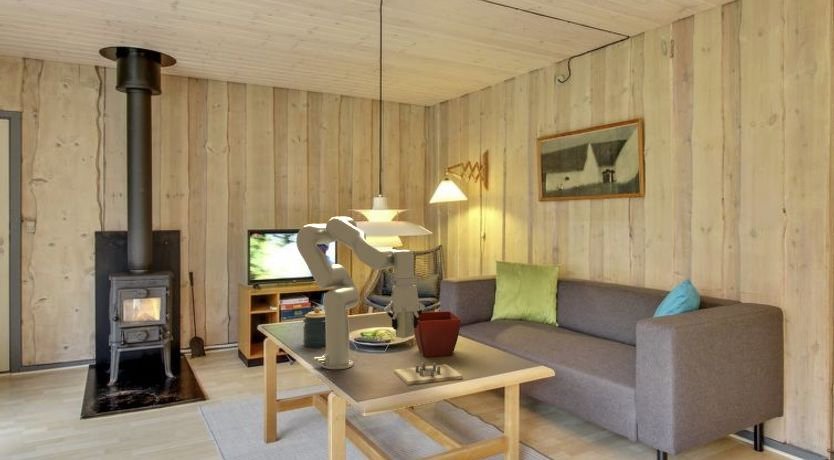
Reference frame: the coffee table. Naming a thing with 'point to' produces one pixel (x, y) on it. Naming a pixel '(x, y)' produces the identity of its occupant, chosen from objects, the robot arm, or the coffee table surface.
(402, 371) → the pin tray
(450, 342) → the plant pot
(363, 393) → the coffee table surface
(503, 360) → the coffee table surface
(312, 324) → the canister
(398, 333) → the skincare box
